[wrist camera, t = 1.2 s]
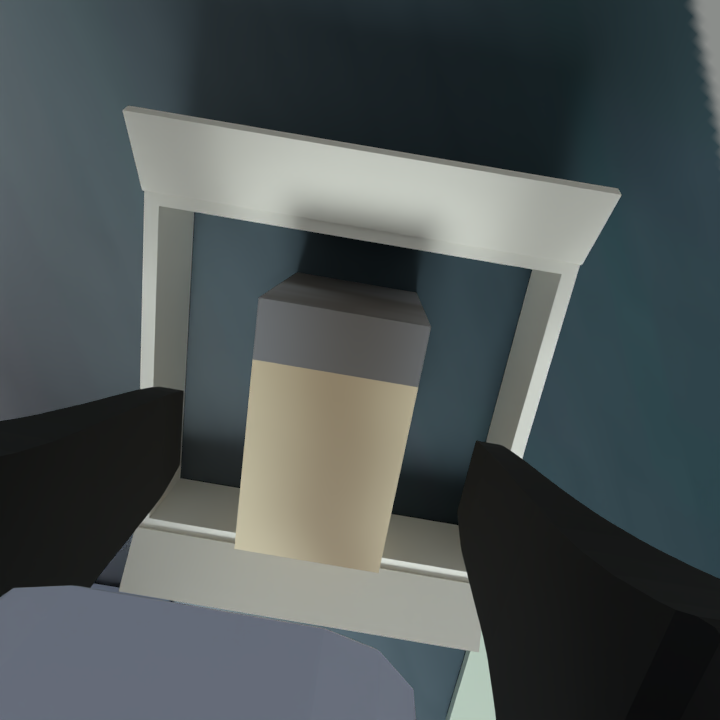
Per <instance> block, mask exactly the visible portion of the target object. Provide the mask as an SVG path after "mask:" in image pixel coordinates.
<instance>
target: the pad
mask: <svg viewBox="0 0 720 720" xmlns="http://www.w3.org/2000/svg"><path fill="white" fill-rule="evenodd" d="M446 720H496V716H495V708H494V700H493V694H492V687H491V680H490V673H489V666H488V659H487V654H486V649H485V644H484V639H483V635H482V631H481V638H480V648H479V652H473V651H467V650H466V653H465V657H464V660H463V663H462V667H461V670H460V673H459V677H458V680H457V683H456V687H455V690H454V693H453V697H452V700H451V703H450V707H449V710H448V713H447V717H446Z"/></svg>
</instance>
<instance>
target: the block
mask: <svg viewBox="0 0 720 720" xmlns="http://www.w3.org/2000/svg"><path fill="white" fill-rule="evenodd" d="M430 329H431V326H430V323H429V321H428V319H427V316H426V314H425V311H424V309H423V307H422V304H421V302H420V300H419V297H418V295H417V293H416V292H411V291H405V290H399V289H393V288H387V287H381V286H375V285H369V284H363V283H358V282H352V281H346V280H340V279H334V278H328V277H322V276H316V275H310V274H304V273H299V272H297V273H295V274H294V275H292V276H291V277H289V278H288V279H286V280H285V281H283V282H282V283H280V284H279V285H277V286H276V287H274V288H273V289H271V290H270V291H268V292H267V293H265V294H263V295H262V296H260V297H259V300H258V310H257V320H256V330H255V341H254V351H253V361H252V372H251V382H250V392H249V402H248V413H247V423H246V433H245V444H244V454H243V464H242V475H241V485H240V495H239V505H238V516H237V526H236V536H235V547H234V549H238V550H244V551H250V552H256V553H262V554H268V555H274V556H280V557H286V558H292V559H298V560H304V561H310V562H315V563H321V564H327V565H333V566H339V567H345V568H351V569H357V570H363V571H369V572H375V573H379V569H380V564H381V559H382V555H383V550H384V545H385V541H386V536H387V531H388V527H389V522H390V517H391V512H392V508H393V503H394V498H395V494H396V489H397V484H398V480H399V475H400V470H401V466H402V461H403V456H404V451H405V447H406V442H407V437H408V433H409V428H410V423H411V419H412V414H413V409H414V404H415V400H416V395H417V390H418V386H419V381H420V376H421V372H422V367H423V362H424V358H425V353H426V348H427V343H428V339H429V334H430Z"/></svg>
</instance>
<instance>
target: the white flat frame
mask: <svg viewBox="0 0 720 720" xmlns="http://www.w3.org/2000/svg"><path fill="white" fill-rule="evenodd" d="M123 114H124V118H125V122H126V127H127V131H128V135H129V139H130V143H131V147H132V151H133V155H134V159H135V163H136V168H137V172H138V176H139V180H140V184H141V188H142V190H143V191H144V233H143V279H142V325H141V371H140V389H144V388H150V387H165V388H171V389H177V390H183V391H184V397H183V417H182V437H183V418H184V400H185V381H186V362H187V343H188V324H189V305H190V286H191V267H192V248H193V229H194V212H198V213H204V214H210V215H216V216H222V217H227V218H233V219H239V220H245V221H251V222H257V223H263V224H269V225H275V226H280V227H286V228H292V229H298V230H304V231H310V232H316V233H322V234H328V235H334V236H339V237H345V238H351V239H357V240H363V241H369V242H375V243H381V244H387V245H392V246H398V247H404V248H410V249H416V250H422V251H428V252H434V253H440V254H446V255H451V256H457V257H463V258H469V259H475V260H481V261H487V262H493V263H499V264H504V265H510V266H516V267H522V268H528V269H532V272H531V276H530V280H529V284H528V287H527V291H526V295H525V298H524V302H523V306H522V310H521V313H520V317H519V321H518V324H517V328H516V332H515V336H514V339H513V343H512V347H511V350H510V354H509V358H508V362H507V365H506V369H505V373H504V376H503V380H502V384H501V388H500V391H499V395H498V399H497V402H496V406H495V410H494V413H493V417H492V421H491V425H490V428H489V432H488V436H487V439H486V442H487V443H493V444H499V445H502V446H504V447H506V448H507V449H509V450H511V451H512V452H513V453H515V454H516V455H518V456H519V457H520V458H522V457H523V454H524V450H525V447H526V444H527V440H528V437H529V434H530V430H531V427H532V424H533V420H534V417H535V413H536V410H537V407H538V403H539V400H540V397H541V393H542V390H543V387H544V383H545V380H546V377H547V373H548V370H549V367H550V363H551V360H552V357H553V353H554V350H555V347H556V343H557V340H558V337H559V333H560V330H561V326H562V323H563V320H564V316H565V313H566V310H567V306H568V303H569V300H570V296H571V293H572V290H573V286H574V283H575V280H576V276H577V273H578V270H579V266H580V265H582V264H583V262H584V260H585V259H586V257H587V255H588V253H589V252H590V250H591V248H592V246H593V245H594V243H595V241H596V239H597V237H598V236H599V234H600V232H601V230H602V229H603V227H604V225H605V223H606V222H607V220H608V218H609V216H610V214H611V213H612V211H613V209H614V207H615V206H616V204H617V202H618V200H619V198H620V197H621V193H620V191H619V189H617V188H611V187H605V186H599V185H593V184H588V183H582V182H576V181H570V180H564V179H558V178H552V177H546V176H540V175H535V174H529V173H523V172H517V171H511V170H505V169H499V168H493V167H487V166H482V165H476V164H470V163H464V162H458V161H452V160H446V159H440V158H434V157H429V156H423V155H417V154H411V153H405V152H399V151H393V150H387V149H381V148H376V147H370V146H364V145H358V144H352V143H346V142H340V141H334V140H328V139H322V138H317V137H311V136H305V135H299V134H293V133H287V132H281V131H275V130H269V129H264V128H258V127H252V126H246V125H240V124H234V123H228V122H222V121H216V120H211V119H205V118H199V117H193V116H187V115H181V114H175V113H169V112H163V111H158V110H152V109H146V108H140V107H134V106H127V107H126V108H125V109H123ZM182 437H181V456H182ZM180 475H181V457H180V466H179V467H178V469H177V471H176V473H175V475H174V476H173V478H172V480H171V482H170V484H169V485H168V487H167V489H166V490H165V492H164V494H163V495H162V497H161V498H160V500H159V501H158V502H157V503H156V505H155V506H154V507H153V509H152V510H151V511H150V512H149V514H148V515H147V516H146V518H145V519H144V520H143V521H142V523H141V524H140V525H139V526H138V528H137V529H136V530H135V531H134V533H133V537H132V541H131V545H130V549H129V553H128V557H127V561H126V565H125V568H124V572H123V576H122V580H121V584H120V588H119V592H125V593H131V594H137V595H142V596H148V597H154V598H160V599H166V600H172V601H178V602H184V603H190V604H196V605H202V606H207V607H213V608H219V609H225V610H231V611H237V612H243V613H249V614H255V615H261V616H267V617H272V618H278V619H284V620H290V621H296V622H302V623H308V624H314V625H320V626H326V627H332V628H337V629H343V630H349V631H355V632H361V633H367V634H373V635H379V636H385V637H391V638H397V639H402V640H408V641H414V642H420V643H426V644H432V645H438V646H444V647H450V648H456V649H462V650H467V651H473V652H479V648H480V638H481V627H480V623H479V619H478V615H477V611H476V607H475V603H474V599H473V595H472V591H471V587H470V584H469V580H468V576H467V572H466V567H465V563H464V559H463V555H462V551H461V544H460V536H459V526H458V525H454V524H448V523H442V522H436V521H431V520H425V519H419V518H413V517H407V516H401V515H395V514H391V517H390V522H389V527H388V531H387V536H386V541H385V545H384V550H383V555H382V559H381V564H380V569H379V573H375V572H369V571H363V570H357V569H351V568H345V567H339V566H333V565H327V564H321V563H315V562H310V561H304V560H298V559H292V558H286V557H280V556H274V555H268V554H262V553H256V552H250V551H244V550H238V549H234V547H235V536H236V526H237V516H238V505H239V495H240V488H236V487H230V486H224V485H218V484H212V483H206V482H200V481H194V480H188V479H183V478H180Z"/></svg>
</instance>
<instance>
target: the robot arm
mask: <svg viewBox="0 0 720 720" xmlns="http://www.w3.org/2000/svg"><path fill="white" fill-rule="evenodd" d="M183 397H184V391H183V390H177V389H171V388H165V387H150V388H144V389H140V390H135V391H131V392H127V393H123V394H119V395H116V396H112V397H108V398H104V399H100V400H96V401H93V402H89V403H85V404H81V405H77V406H72V407H68V408H64V409H59V410H55V411H51V412H46V413H42V414H38V415H33V416H28V417H22V418H17V419H11V420H5V421H0V720H416V713H415V702H414V691H413V688H412V687H411V686H410V685H409V684H408V683H407V682H406V680H405V679H404V678H403V677H402V676H401V675H400V674H399V672H398V671H397V670H396V669H395V668H394V667H393V666H392V665H391V663H390V662H389V661H388V660H387V659H386V658H385V657H384V655H383V654H382V653H381V652H380V651H379V650H377V649H375V648H373V647H370V646H368V645H365V644H363V643H360V642H358V641H355V640H353V639H350V638H348V637H345V636H342V635H340V634H337V633H335V632H332V631H330V630H327V629H325V628H320V627H314V626H308V625H302V624H297V623H291V622H285V621H279V620H273V619H268V618H262V617H256V616H250V615H244V614H239V613H233V612H227V611H221V610H215V609H209V608H204V607H198V606H192V605H186V604H180V603H175V602H170V601H169V600H166V599H160V598H154V597H148V596H142V595H137V594H131V593H125V592H119V588H118V587H112V586H106V585H100V584H94V582H95V581H96V579H97V578H98V577H99V575H100V574H101V573H102V571H103V570H104V569H105V567H106V566H107V565H108V564H109V562H110V561H111V560H112V559H113V558H114V556H115V555H116V554H117V553H118V551H119V550H120V549H121V548H122V546H123V545H124V544H125V543H126V541H127V540H128V539H129V538H130V536H131V535H132V534H133V533H134V531H135V530H136V529H137V528H138V526H139V525H140V524H141V523H142V521H143V520H144V519H145V518H146V516H147V515H148V514H149V512H150V511H151V510H152V509H153V507H154V506H155V505H156V503H157V502H158V501H159V500H160V498H161V497H162V495H163V494H164V492H165V490H166V489H167V487H168V485H169V484H170V482H171V480H172V478H173V476H174V475H175V473H176V471H177V469H178V467H179V466H180V457H181V437H182V417H183ZM457 514H458V526H459V536H460V544H461V551H462V555H463V559H464V563H465V567H466V572H467V576H468V580H469V584H470V587H471V591H472V595H473V599H474V603H475V607H476V611H477V615H478V619H479V623H480V627H481V631H482V635H483V639H484V644H485V649H486V654H487V659H488V666H489V673H490V680H491V687H492V694H493V700H494V708H495V716H496V720H720V579H719V578H716V577H714V576H712V575H710V574H708V573H705V572H703V571H701V570H699V569H696V568H694V567H692V566H690V565H688V564H686V563H684V562H682V561H680V560H678V559H676V558H674V557H672V556H670V555H668V554H666V553H664V552H662V551H660V550H658V549H656V548H654V547H652V546H650V545H649V544H647V543H645V542H643V541H641V540H639V539H638V538H636V537H634V536H633V535H631V534H629V533H627V532H626V531H624V530H622V529H621V528H619V527H617V526H616V525H614V524H612V523H610V522H609V521H607V520H606V519H604V518H602V517H601V516H599V515H598V514H596V513H595V512H593V511H592V510H590V509H589V508H587V507H586V506H585V505H583V504H582V503H580V502H579V501H577V500H576V499H574V498H573V497H572V496H570V495H569V494H567V493H566V492H565V491H563V490H562V489H561V488H559V487H558V486H557V485H555V484H554V483H553V482H551V481H550V480H549V479H547V478H546V477H545V476H543V475H542V474H541V473H540V472H538V471H537V470H536V469H534V468H533V467H532V466H531V465H529V464H528V463H527V462H525V461H524V460H523V459H522V458H520V457H519V456H518V455H516V454H515V453H513V452H512V451H511V450H509V449H507V448H506V447H504V446H502V445H499V444H493V443H487V442H481V441H476V443H475V447H474V451H473V454H472V458H471V462H470V466H469V470H468V473H467V477H466V481H465V485H464V489H463V492H462V496H461V500H460V504H459V507H458V511H457Z"/></svg>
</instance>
